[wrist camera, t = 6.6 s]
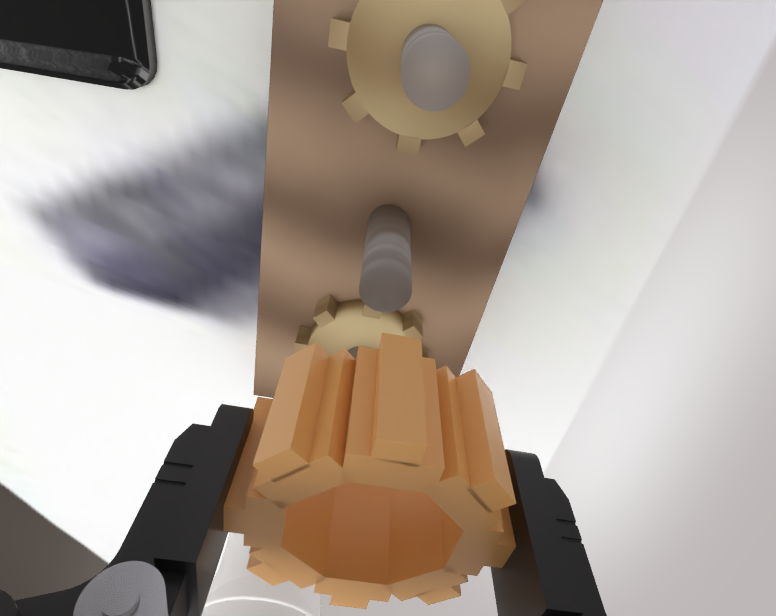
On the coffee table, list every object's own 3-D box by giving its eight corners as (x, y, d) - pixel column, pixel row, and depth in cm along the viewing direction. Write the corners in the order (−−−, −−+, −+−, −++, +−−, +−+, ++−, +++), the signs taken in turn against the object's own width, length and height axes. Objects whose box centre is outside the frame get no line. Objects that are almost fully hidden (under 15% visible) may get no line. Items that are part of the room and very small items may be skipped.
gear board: (295, -169, 17) (224, -271, 10) (615, -83, 18) (743, -124, 11) (261, 372, 31) (223, 477, 24) (438, 401, 32) (448, 509, 26)
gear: (263, 311, 10) (219, 414, 8) (533, 359, 11) (572, 468, 8) (252, 482, 14) (219, 591, 11) (458, 511, 14) (469, 621, 12)
